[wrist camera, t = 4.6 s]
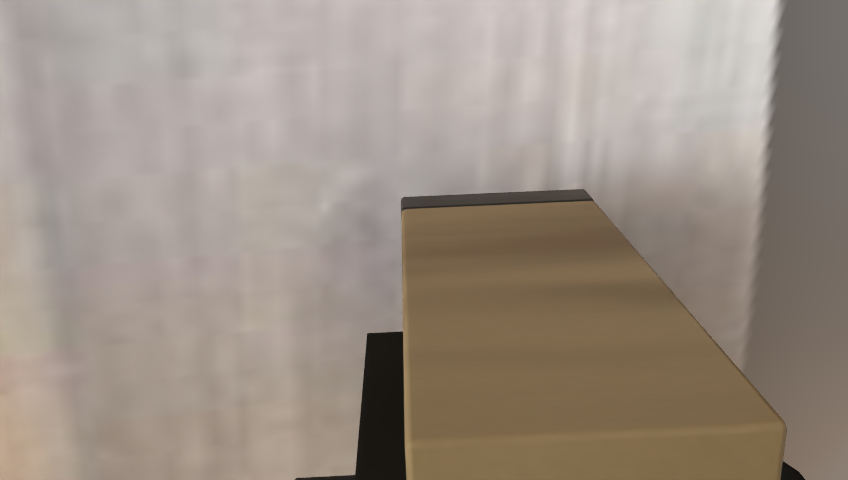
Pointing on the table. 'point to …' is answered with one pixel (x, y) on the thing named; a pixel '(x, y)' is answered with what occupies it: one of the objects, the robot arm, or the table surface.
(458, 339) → the tan rectangular block
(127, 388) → the table surface
